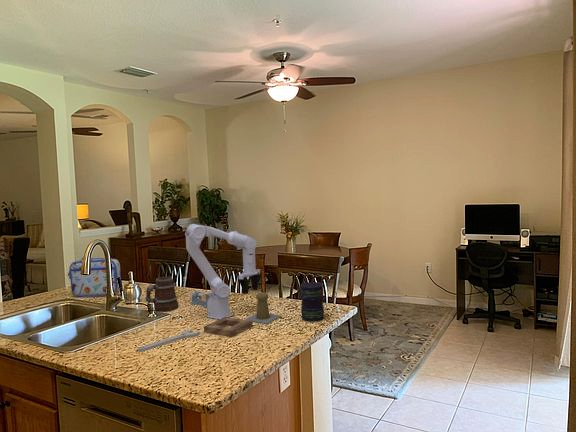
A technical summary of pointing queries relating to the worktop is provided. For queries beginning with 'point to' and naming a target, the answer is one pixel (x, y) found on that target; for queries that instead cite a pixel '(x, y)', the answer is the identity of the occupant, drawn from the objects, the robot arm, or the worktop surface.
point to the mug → (163, 294)
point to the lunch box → (92, 278)
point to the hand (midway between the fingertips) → (250, 291)
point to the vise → (200, 298)
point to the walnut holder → (220, 328)
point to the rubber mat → (266, 321)
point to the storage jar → (312, 302)
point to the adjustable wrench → (170, 340)
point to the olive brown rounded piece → (262, 306)
